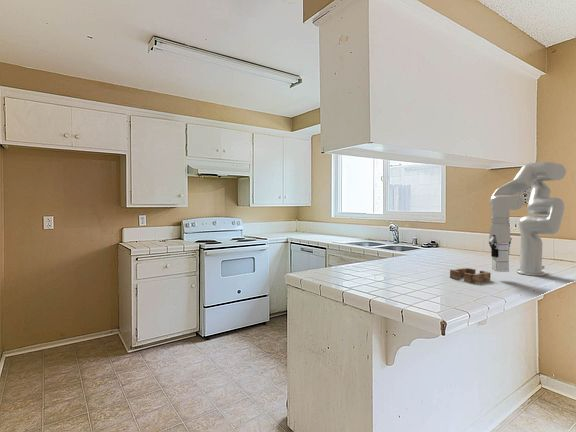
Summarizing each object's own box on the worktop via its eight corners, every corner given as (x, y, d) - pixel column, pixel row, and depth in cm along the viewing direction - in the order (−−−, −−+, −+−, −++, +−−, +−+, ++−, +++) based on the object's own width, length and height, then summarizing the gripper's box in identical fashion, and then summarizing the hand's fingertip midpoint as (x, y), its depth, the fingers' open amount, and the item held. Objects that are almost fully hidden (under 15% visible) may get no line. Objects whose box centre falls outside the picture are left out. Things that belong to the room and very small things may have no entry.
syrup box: (509, 271, 161) (509, 242, 160) (496, 271, 163) (496, 242, 162) (504, 269, 167) (504, 241, 166) (491, 269, 168) (491, 241, 167)
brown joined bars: (466, 275, 176) (466, 267, 176) (491, 280, 164) (491, 272, 164) (448, 277, 170) (449, 270, 170) (473, 283, 158) (473, 275, 158)
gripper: (503, 219, 170) (503, 252, 171) (481, 221, 163) (481, 256, 164) (518, 220, 163) (518, 254, 165) (496, 222, 156) (496, 259, 157)
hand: (500, 255), depth 164 cm, fingers closed on syrup box, 8 cm apart
